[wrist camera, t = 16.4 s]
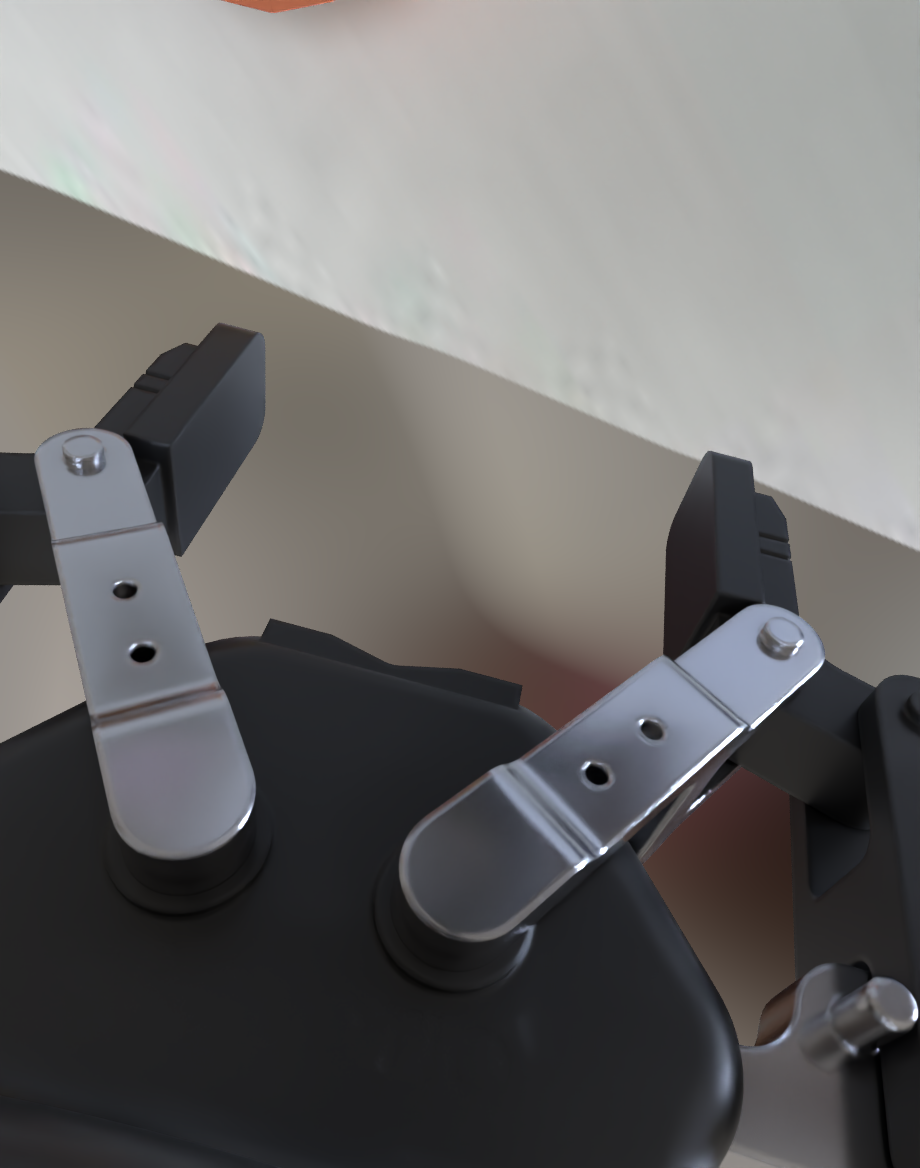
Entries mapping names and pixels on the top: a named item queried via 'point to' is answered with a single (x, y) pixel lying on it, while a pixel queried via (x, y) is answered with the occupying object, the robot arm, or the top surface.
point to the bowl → (277, 4)
